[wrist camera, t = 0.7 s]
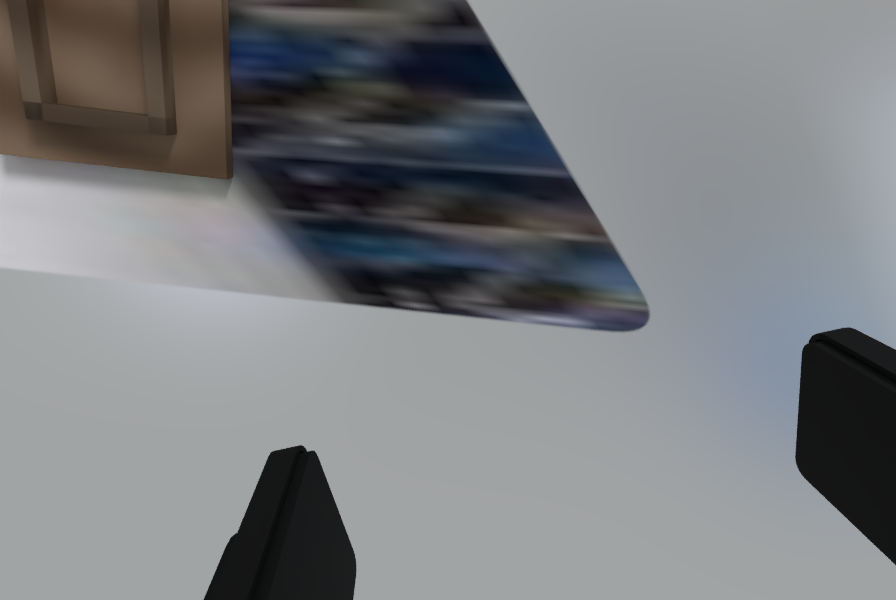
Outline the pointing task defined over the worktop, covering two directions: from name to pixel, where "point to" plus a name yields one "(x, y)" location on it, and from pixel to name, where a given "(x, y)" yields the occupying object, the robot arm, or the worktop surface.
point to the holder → (118, 83)
